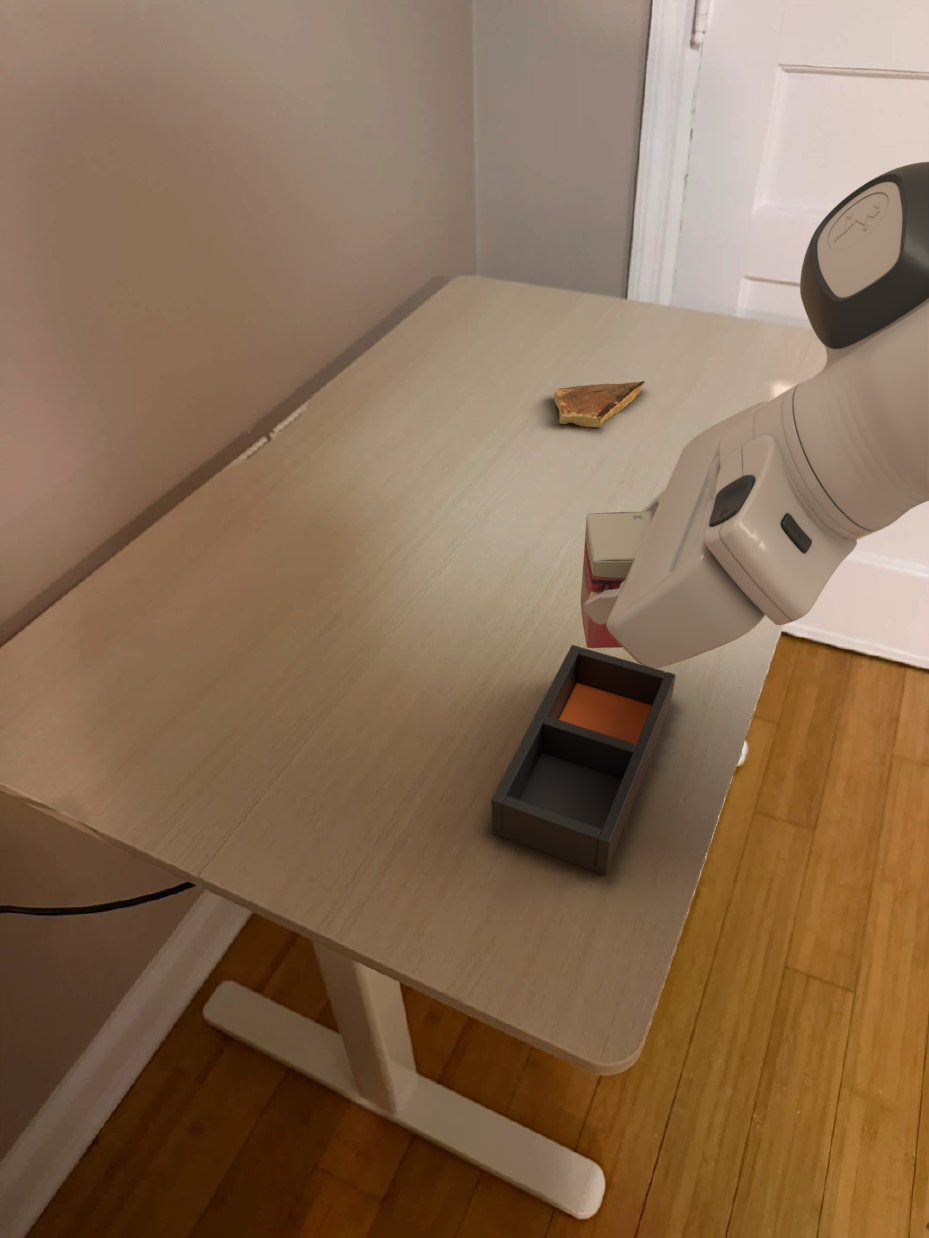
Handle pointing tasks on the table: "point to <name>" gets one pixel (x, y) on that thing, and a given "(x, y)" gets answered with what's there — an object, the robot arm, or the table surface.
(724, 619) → the robot arm
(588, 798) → the holder
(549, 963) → the table surface
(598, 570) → the small box
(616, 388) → the shard
